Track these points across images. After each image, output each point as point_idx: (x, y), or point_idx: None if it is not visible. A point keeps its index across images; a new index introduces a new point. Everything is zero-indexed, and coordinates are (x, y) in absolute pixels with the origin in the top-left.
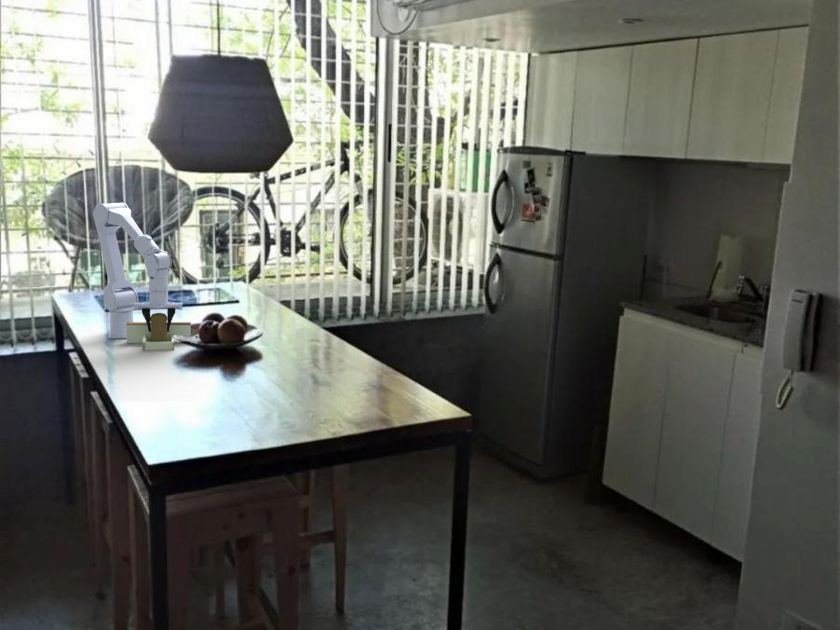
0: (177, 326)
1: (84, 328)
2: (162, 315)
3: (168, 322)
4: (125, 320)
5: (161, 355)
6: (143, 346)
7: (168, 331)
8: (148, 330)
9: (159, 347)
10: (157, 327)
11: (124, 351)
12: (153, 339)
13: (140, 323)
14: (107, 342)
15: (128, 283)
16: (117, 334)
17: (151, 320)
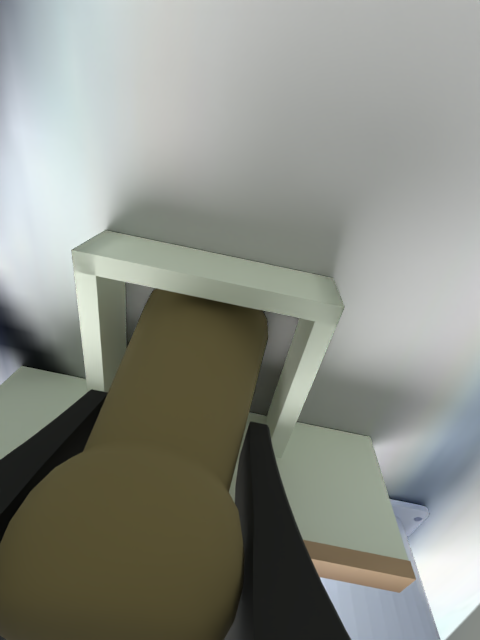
0: None
1: (442, 603)
2: (20, 608)
3: (24, 468)
4: (367, 614)
5: (217, 62)
6: (330, 290)
7: (92, 391)
8: (270, 437)
9: (209, 258)
10: (179, 416)
11: (472, 280)
12: (241, 339)
13: None
14: (462, 466)
15: None
16: None
17: (235, 537)
